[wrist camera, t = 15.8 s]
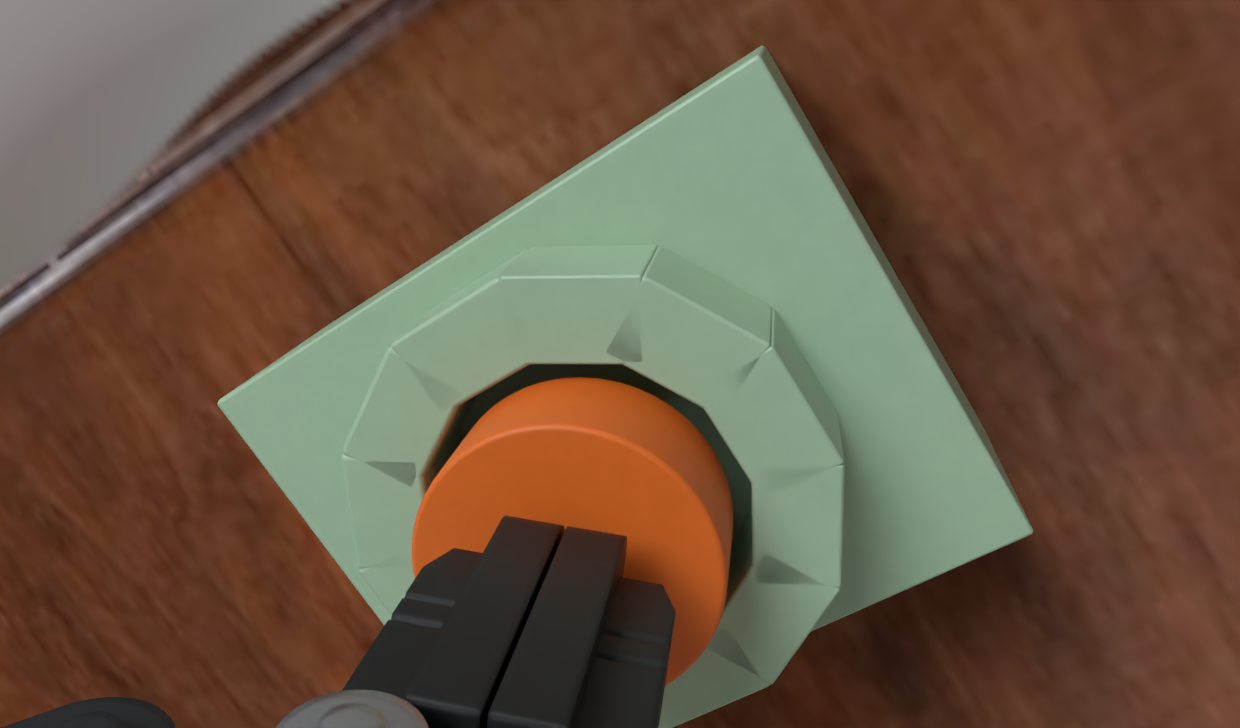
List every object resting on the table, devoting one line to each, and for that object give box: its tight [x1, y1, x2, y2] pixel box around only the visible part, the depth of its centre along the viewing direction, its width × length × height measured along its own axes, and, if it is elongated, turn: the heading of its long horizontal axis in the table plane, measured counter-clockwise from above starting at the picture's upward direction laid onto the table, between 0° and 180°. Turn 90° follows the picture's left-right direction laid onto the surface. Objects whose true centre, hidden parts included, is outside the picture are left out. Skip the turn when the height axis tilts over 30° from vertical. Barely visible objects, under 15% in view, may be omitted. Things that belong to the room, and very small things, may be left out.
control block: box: [218, 46, 1033, 728], centre depth 17 cm, size 8×10×6 cm
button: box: [412, 377, 734, 686], centre depth 13 cm, size 4×4×2 cm
